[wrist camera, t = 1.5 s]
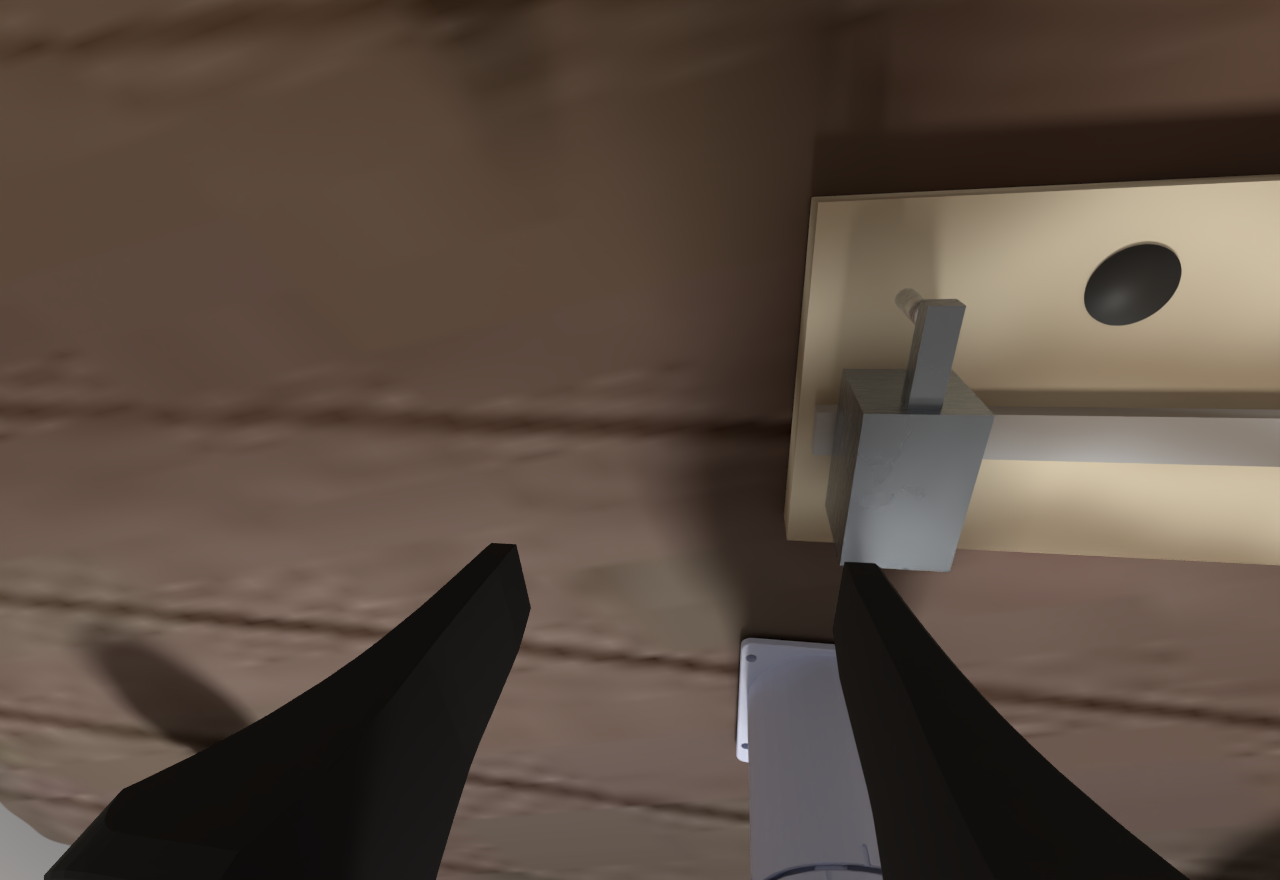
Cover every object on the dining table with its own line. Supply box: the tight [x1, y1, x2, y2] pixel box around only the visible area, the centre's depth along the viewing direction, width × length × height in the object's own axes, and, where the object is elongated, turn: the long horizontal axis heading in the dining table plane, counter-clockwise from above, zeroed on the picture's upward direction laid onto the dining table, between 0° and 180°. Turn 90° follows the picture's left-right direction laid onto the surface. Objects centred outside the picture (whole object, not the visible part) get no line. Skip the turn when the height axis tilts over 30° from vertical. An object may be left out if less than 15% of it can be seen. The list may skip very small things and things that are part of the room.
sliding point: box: [825, 288, 995, 572], centre depth 15 cm, size 8×3×4 cm, turn 4°
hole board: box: [784, 174, 1280, 565], centre depth 15 cm, size 12×23×5 cm, turn 94°
